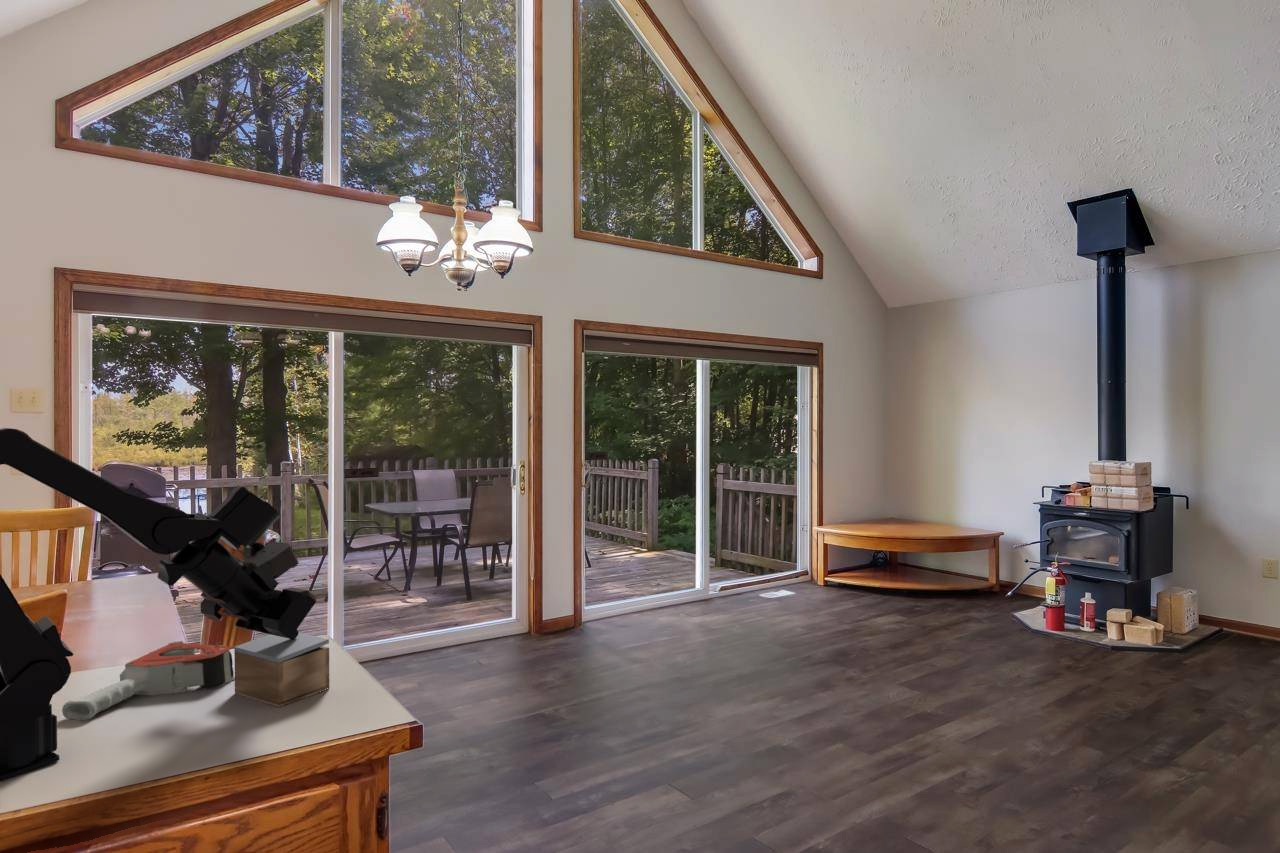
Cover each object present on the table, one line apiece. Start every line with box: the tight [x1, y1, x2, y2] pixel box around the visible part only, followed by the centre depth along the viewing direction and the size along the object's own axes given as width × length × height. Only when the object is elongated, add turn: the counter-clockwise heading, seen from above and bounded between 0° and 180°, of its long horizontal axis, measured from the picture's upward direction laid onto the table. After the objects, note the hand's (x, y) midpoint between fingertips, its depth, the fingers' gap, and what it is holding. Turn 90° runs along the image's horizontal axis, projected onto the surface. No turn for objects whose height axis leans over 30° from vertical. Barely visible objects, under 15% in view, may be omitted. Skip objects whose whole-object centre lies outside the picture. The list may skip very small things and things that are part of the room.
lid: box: [233, 631, 330, 663], centre depth 110 cm, size 8×10×1 cm
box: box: [233, 645, 330, 708], centre depth 110 cm, size 8×10×6 cm
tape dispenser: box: [61, 640, 235, 721], centre depth 111 cm, size 18×5×20 cm
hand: (295, 636), depth 112 cm, fingers closed
